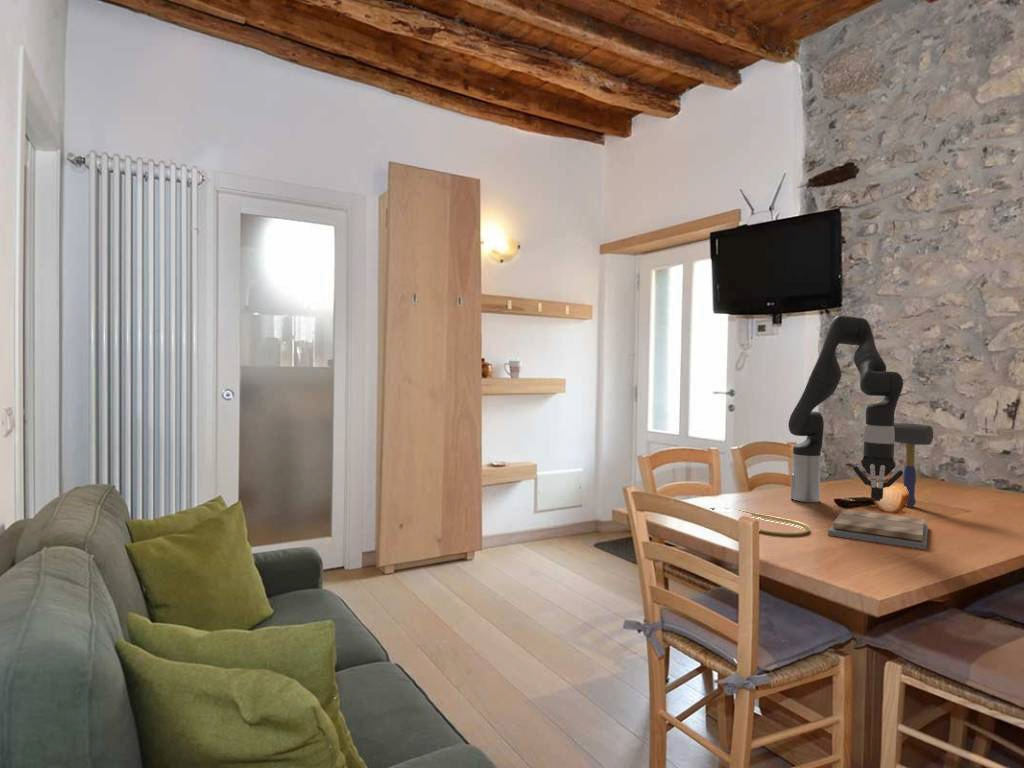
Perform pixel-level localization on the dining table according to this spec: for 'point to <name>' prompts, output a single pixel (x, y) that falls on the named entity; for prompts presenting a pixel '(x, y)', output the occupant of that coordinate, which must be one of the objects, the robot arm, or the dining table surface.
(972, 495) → the dining table surface
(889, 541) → the panel
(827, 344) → the robot arm
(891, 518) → the far plank
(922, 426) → the rubber mallet
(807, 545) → the dining table surface
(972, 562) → the dining table surface
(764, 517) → the serving platter
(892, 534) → the near plank
